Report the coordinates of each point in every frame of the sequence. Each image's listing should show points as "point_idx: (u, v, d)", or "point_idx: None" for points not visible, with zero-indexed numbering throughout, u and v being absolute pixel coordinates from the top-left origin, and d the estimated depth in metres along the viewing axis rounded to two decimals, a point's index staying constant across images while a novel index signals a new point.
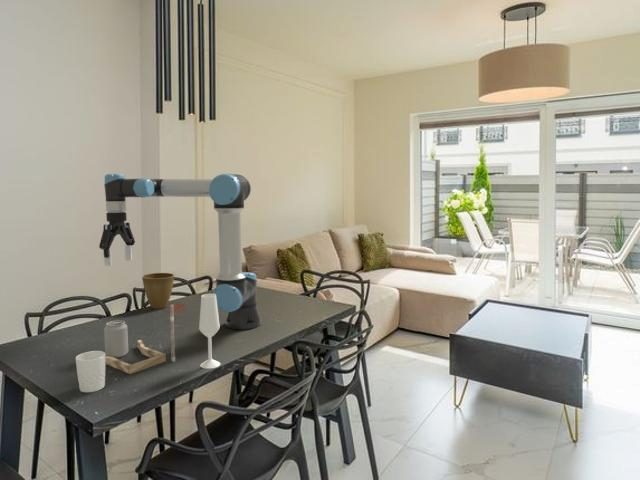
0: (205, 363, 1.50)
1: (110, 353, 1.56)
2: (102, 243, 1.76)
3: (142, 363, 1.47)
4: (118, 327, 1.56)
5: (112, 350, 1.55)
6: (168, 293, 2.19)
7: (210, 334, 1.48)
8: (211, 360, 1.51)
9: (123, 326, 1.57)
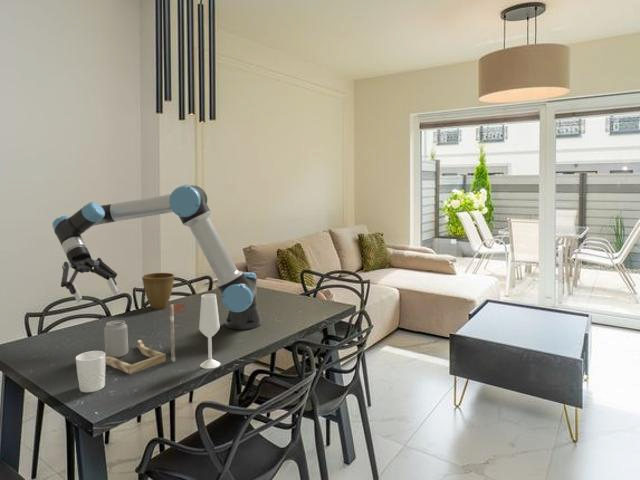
0: (205, 363, 1.50)
1: (110, 353, 1.56)
2: (62, 281, 1.59)
3: (142, 363, 1.47)
4: (118, 327, 1.56)
5: (112, 350, 1.55)
6: (168, 293, 2.19)
7: (210, 334, 1.48)
8: (211, 360, 1.51)
9: (123, 326, 1.57)
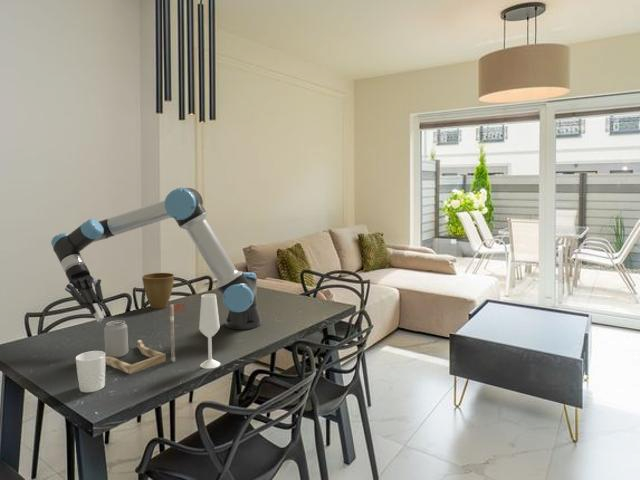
0: (205, 363, 1.50)
1: (110, 353, 1.56)
2: (80, 303, 1.63)
3: (142, 363, 1.47)
4: (118, 327, 1.56)
5: (112, 350, 1.55)
6: (168, 293, 2.19)
7: (210, 334, 1.48)
8: (211, 360, 1.51)
9: (123, 326, 1.57)
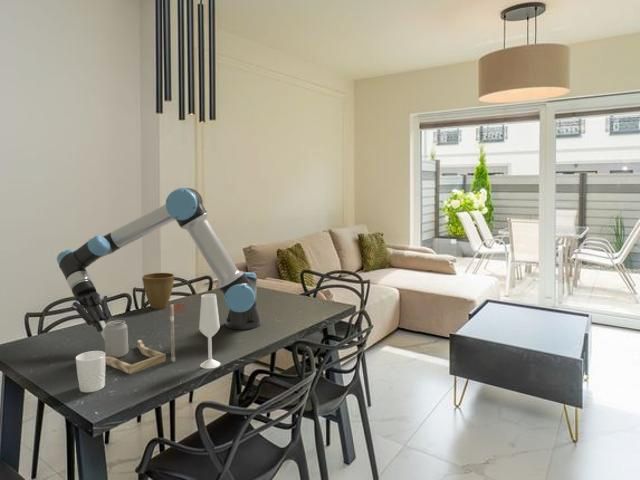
0: (205, 363, 1.50)
1: (111, 353, 1.56)
2: (86, 320, 1.61)
3: (142, 363, 1.47)
4: (118, 327, 1.56)
5: (112, 350, 1.55)
6: (168, 293, 2.19)
7: (210, 334, 1.48)
8: (211, 360, 1.51)
9: (123, 326, 1.57)
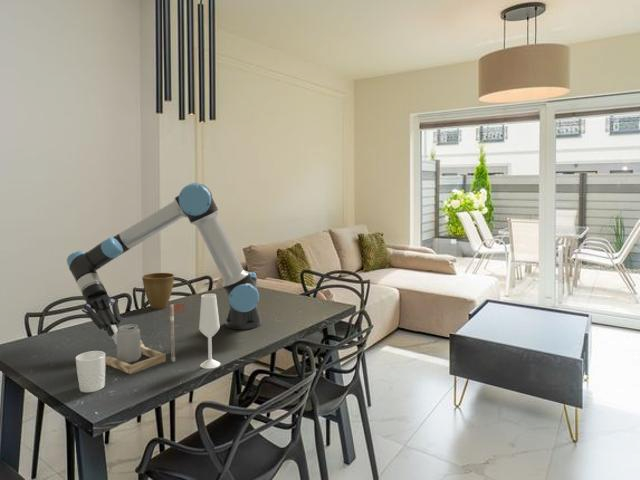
0: (205, 363, 1.50)
1: (124, 358, 1.51)
2: (97, 324, 1.56)
3: (142, 363, 1.47)
4: (132, 331, 1.51)
5: (125, 355, 1.51)
6: (168, 293, 2.19)
7: (210, 334, 1.48)
8: (211, 360, 1.51)
9: (136, 330, 1.53)
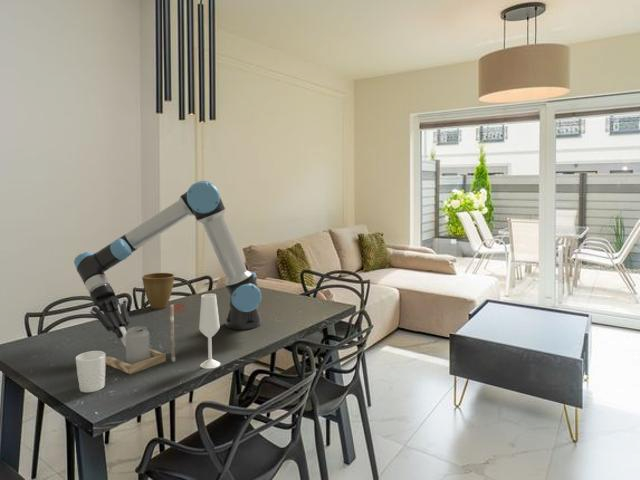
0: (205, 363, 1.50)
1: (133, 361, 1.49)
2: (106, 326, 1.54)
3: (142, 363, 1.47)
4: (141, 334, 1.49)
5: (134, 357, 1.49)
6: (168, 293, 2.19)
7: (210, 334, 1.48)
8: (211, 360, 1.51)
9: (145, 332, 1.51)
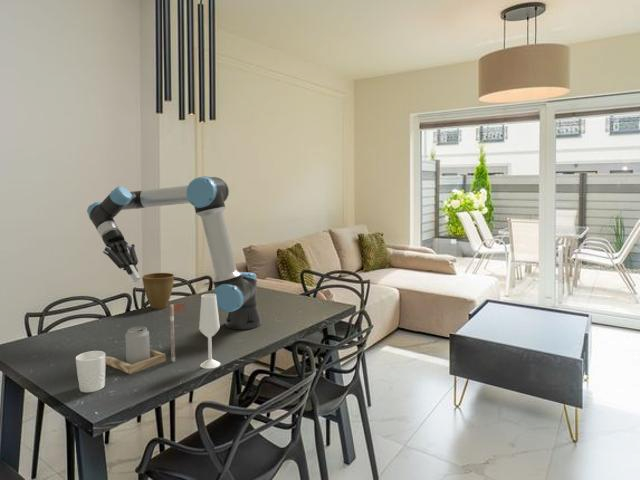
0: (205, 363, 1.50)
1: (133, 361, 1.49)
2: (117, 264, 1.74)
3: (142, 363, 1.47)
4: (141, 334, 1.49)
5: (134, 357, 1.49)
6: (168, 293, 2.19)
7: (210, 334, 1.48)
8: (211, 360, 1.51)
9: (145, 333, 1.51)
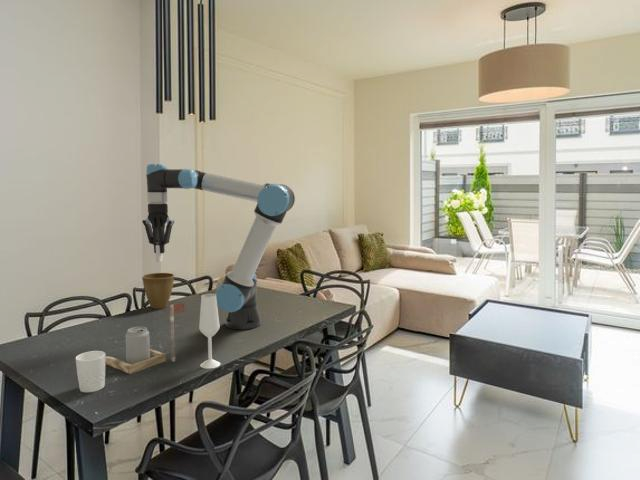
0: (205, 363, 1.50)
1: (133, 361, 1.49)
2: None
3: (142, 363, 1.47)
4: (141, 334, 1.49)
5: (134, 357, 1.49)
6: (168, 293, 2.19)
7: (210, 334, 1.48)
8: (211, 360, 1.51)
9: (145, 333, 1.51)
